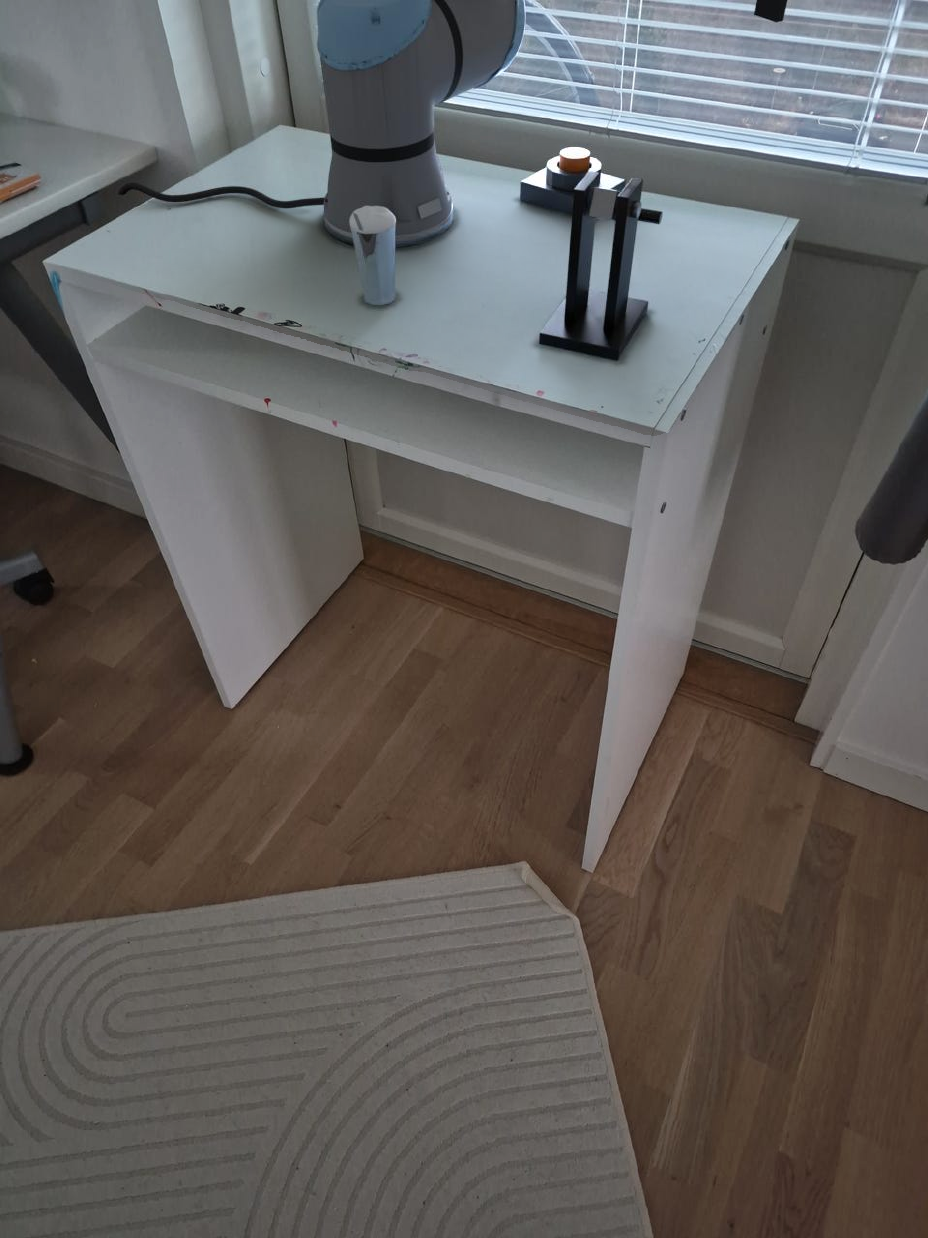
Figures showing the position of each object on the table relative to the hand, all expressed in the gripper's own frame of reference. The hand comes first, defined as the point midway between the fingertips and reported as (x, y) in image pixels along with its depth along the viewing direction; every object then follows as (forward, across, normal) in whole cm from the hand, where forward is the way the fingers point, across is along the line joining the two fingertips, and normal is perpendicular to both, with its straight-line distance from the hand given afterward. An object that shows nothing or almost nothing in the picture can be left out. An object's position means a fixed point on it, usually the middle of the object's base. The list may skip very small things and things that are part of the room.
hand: (826, 6), depth 77 cm
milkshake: (+24, -38, +16) cm, 48 cm away
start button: (+21, -6, +26) cm, 34 cm away
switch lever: (+16, -18, +3) cm, 24 cm away
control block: (+24, -6, +26) cm, 36 cm away
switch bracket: (+24, -22, 0) cm, 33 cm away
